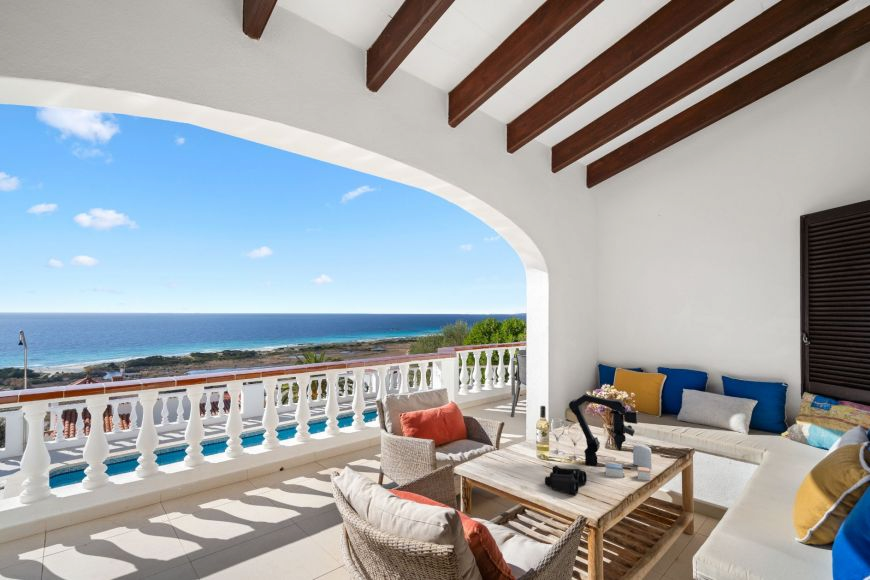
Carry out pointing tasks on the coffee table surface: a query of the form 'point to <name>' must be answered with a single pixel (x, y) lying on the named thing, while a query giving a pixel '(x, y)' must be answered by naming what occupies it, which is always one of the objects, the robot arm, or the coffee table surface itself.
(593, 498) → the coffee table surface
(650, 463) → the photo printer
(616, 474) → the ticket book
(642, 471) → the stub
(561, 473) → the binoculars
